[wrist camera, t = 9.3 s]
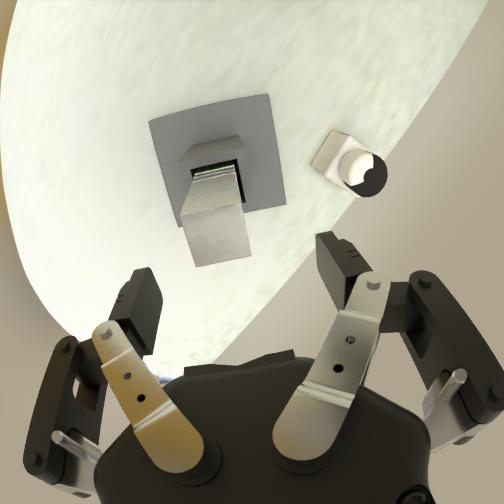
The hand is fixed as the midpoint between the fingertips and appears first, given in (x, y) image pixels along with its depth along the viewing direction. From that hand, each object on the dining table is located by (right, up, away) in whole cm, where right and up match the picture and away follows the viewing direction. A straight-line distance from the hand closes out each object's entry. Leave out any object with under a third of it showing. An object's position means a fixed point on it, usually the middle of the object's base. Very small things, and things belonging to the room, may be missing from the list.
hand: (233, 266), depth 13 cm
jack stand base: (-4, +15, +28) cm, 32 cm away
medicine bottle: (+15, +16, +30) cm, 37 cm away
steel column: (-3, +11, +21) cm, 24 cm away
